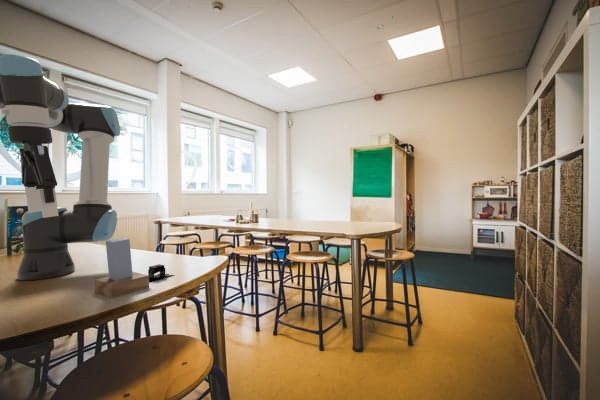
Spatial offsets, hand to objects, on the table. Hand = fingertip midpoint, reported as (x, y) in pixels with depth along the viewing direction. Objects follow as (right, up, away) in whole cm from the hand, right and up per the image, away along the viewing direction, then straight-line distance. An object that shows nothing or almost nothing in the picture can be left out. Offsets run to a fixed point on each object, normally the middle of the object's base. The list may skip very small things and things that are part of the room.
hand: (43, 214), depth 70 cm
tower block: (+12, -19, +12) cm, 25 cm away
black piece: (+17, -23, +23) cm, 37 cm away
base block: (+12, -23, +12) cm, 29 cm away
